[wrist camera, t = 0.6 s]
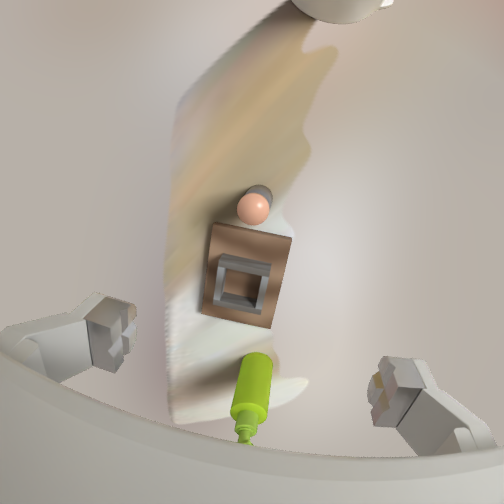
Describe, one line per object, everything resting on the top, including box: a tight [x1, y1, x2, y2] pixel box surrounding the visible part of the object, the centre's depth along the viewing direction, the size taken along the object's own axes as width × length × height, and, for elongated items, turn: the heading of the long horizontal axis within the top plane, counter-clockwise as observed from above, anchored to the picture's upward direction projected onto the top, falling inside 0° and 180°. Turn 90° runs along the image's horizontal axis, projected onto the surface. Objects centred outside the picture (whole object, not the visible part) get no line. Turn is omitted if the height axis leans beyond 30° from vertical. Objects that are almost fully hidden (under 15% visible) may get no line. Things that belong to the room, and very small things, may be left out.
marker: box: [237, 185, 273, 225], centre depth 43 cm, size 4×4×8 cm
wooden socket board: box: [201, 222, 292, 329], centre depth 50 cm, size 16×12×4 cm
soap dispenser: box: [230, 352, 273, 446], centre depth 49 cm, size 6×7×20 cm
